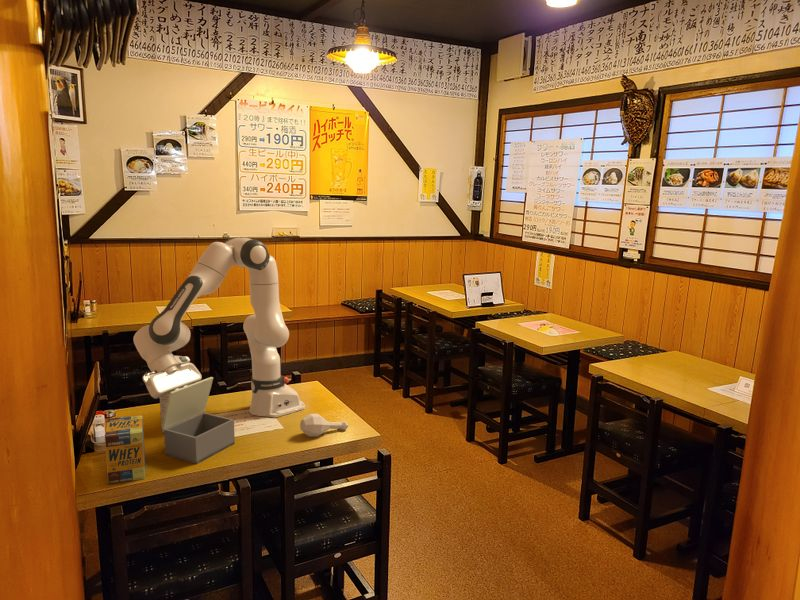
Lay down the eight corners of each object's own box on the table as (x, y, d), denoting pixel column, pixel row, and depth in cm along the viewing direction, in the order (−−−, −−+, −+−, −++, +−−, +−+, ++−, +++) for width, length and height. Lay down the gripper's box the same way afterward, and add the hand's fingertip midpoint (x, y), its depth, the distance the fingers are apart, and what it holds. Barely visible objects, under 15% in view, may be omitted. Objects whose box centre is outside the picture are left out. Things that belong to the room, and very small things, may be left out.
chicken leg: (351, 436, 217) (351, 413, 219) (306, 436, 208) (307, 412, 210) (341, 437, 224) (341, 415, 226) (297, 437, 214) (298, 414, 217)
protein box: (107, 485, 176) (104, 436, 173) (110, 463, 190) (107, 418, 187) (145, 479, 180) (142, 431, 177) (145, 458, 194) (142, 413, 191)
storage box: (165, 454, 196) (164, 429, 195) (204, 435, 212) (203, 412, 211) (196, 464, 190) (195, 438, 189) (234, 443, 206) (233, 419, 205)
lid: (163, 429, 194) (161, 428, 195) (204, 411, 211) (203, 410, 211) (171, 393, 190) (170, 392, 190) (213, 377, 207) (211, 376, 207)
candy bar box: (177, 422, 224) (175, 381, 221) (189, 423, 223) (187, 382, 220) (160, 433, 213) (158, 390, 210) (172, 434, 212) (170, 391, 210)
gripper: (144, 369, 192) (167, 403, 190) (191, 355, 210) (212, 386, 208) (135, 380, 195) (157, 414, 193) (183, 365, 213) (203, 396, 211)
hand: (186, 399), depth 200 cm, fingers closed, pressing on lid
